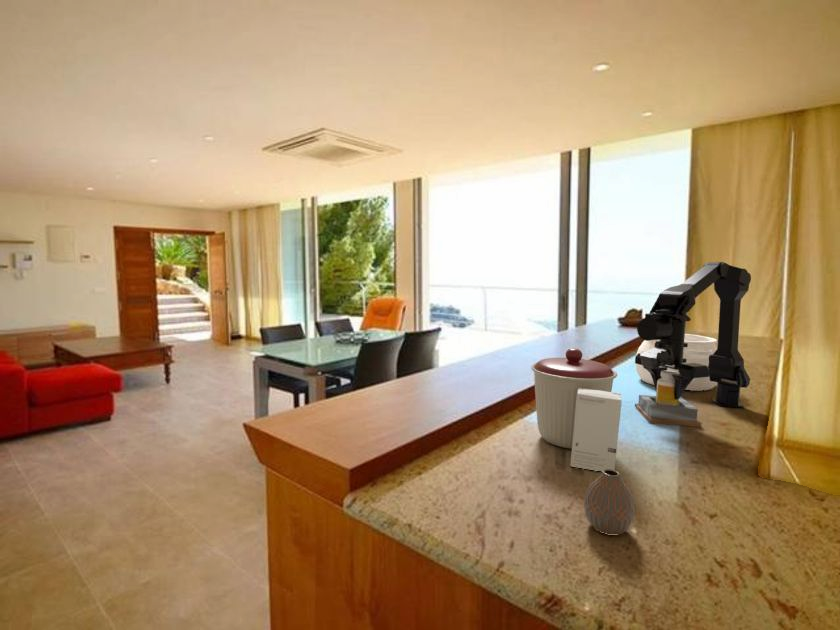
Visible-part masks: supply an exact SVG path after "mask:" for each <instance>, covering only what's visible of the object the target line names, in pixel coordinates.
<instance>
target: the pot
mask: <svg viewBox="0 0 840 630" xmlns="http://www.w3.org/2000/svg"><path fill="white" fill-rule="evenodd" d="M656 341H660V340H649V341H646V340H643V341H642V342H641V344H640V346H639V347H638V349H637V352H636V354H635V356H636V355H637V354H638V353H643V352H645V351H647V350H649V349H653V348H654V347H655V343H656ZM684 343H688V346H687V347H684V350H683V358H685V359H686V363H682V364H687V363H697V364H702V365H706V366H707V367H708V365H709V356H710V355H713V354H714V352H715V351H716V350H717V345H716V343H718V339H716V338H714V337H711V336H710V337H709V336H703V335H699V334H689V333H685V338H684ZM634 364H635V369H636V372H637V375H638V377H639V378H640V380H641V381H643V382H645V383H647V384H649V385H652V386H654V382H653V379H652V376H651V374H650V373H649V372H648V371H647V370H646V369H644V368H643V366H642V365H640V364H636V363H635V362H634ZM673 366H675V365H673ZM667 371H674V372H677V373H678V370H675V369H671V368H667ZM715 387H717V382H714V381H710V378H709V377H702V378H694V379H693V380H692V381H691V382H690V383H689V385H688V386H687V387H686V389H685V390H690V391H689V392H704V391H709V390H712V389H713V388H715ZM703 390H704V391H703Z"/></svg>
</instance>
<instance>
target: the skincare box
mask: <svg viewBox="0 0 840 630" xmlns="http://www.w3.org/2000/svg"><path fill="white" fill-rule="evenodd" d="M621 408H622V394H621V393H619V392H612V391H611V392H606V391H601V390H592V389H584V388H578V392H577V400H576V409H575V421H574V432H573V442H572V449H571V454H570V463H569V464H570V467H571V466H572V467H578V468H584V469H591V470H597V471H603V470H605V469H611V470H615V468H616V459H617V451H618V450H617V449H618V439H619V433H620V432H619V431H620V429H619V428H620V422H621V421H620V420H621V410H622V409H621ZM578 468H577V469H578ZM584 469H583V470H584ZM615 471H616V470H615Z"/></svg>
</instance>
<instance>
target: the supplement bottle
mask: <svg viewBox="0 0 840 630" xmlns="http://www.w3.org/2000/svg"><path fill="white" fill-rule="evenodd" d="M672 374H678V373H677V372H674V371H667V370H663V371H661V378H660V379H658V381H657V391H656V390H655V392H656V393H655V396H656V404H658V405H672V406H678V403H679V399H678V400H675V398H674V388H675V379H674V378H673V376H672Z"/></svg>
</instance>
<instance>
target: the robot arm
mask: <svg viewBox="0 0 840 630" xmlns="http://www.w3.org/2000/svg"><path fill="white" fill-rule="evenodd" d="M751 280H752V275H751V273H750V272H748V270H747V269H746V268H740V267H737V266H734V265H731V264H728V263H726V262H723V261H708V262H704V264H703V266H702V267H701V268H700V269H699V270H698V271H696V272H695V273H693V275H691V276H690V277H689V278H686V280H685V281H683V282H682V283H681V284H678V285H674V286H670V287H668V288H666V289H664V290H661V292H660V293H659V295H658V297H657V298H656V300H655V302H654V304H653V305H652V307H651V309H650V311H649V313H645V314H644V318H642V319H641V320H640V321H639V323H638V325H637V326H636V332H637V334H638V336H639V338H640V339H642V340H643V341H644V340H646V341H649V340H660V341H656V343H655V347H654V348H653V349H649V350H647V351H645V352H643V353H638V354H637V353H636V354H637V355H636V354H635V356H634V360H635V361H634V364H635V363H636V364H640V365H642V366H643V368H644V369H646V370H647V371H648V372H649V373H650V374H651V376H652V379H653V382H654V385H653V386H654V388H655V392H656V391H657V381H658V379H660V378H661V371H663V370H667V368H671V369H675V370H678V374H672V376H673V378H674V379H675V388H674V398H675V400H678V399H679V398H682V395H683V394H684V392H685V391H684V390H685V389H686V387H687V386H688V385H689V383H690V382H691V381H692V380H693V379H694V378H702V377H709V378H710V381H714V382H717V385H716V395H715V398H710V401H711V402H713V404H716V405H718V406H719V407H728V408H729V407H731V408H745V405H743V404H742V403H740V395H741V388H748V387H749V385H750V383H751V378H750V376H749V374H748V372H747V370H746V368H745V360H744V358H743V355H741V353H740V351H739V348H738V347H739V337H740V336H739V334H740V332H739V331H740V322H741V321H740V317H741V302H742V299H743V297H745V296H746V294H747V293H748V291H749V288H750V284H751ZM712 285H713V289H714V292H715V293H716V295H717V297H718V299H719V313H718V315H719V316H718V331H717V332H718V333H717V345H716V347H717V350H716V351H715V352H714V354H713V355H710V356H709V365H708V367H707V366H706V365H702V364H697V363H687V364H682V363H686V359H685V358H683V350H684V347H687V346H688V343H684V338H685V334H686V323H687V322H691V320H692V319H691V317H690V316H689V315H687V313H689V312H690V311H691V310H692V308H693V307H694V306H695V305H696V298H697V297H698V296H699V295H701V294H702V293H703V292H704V291H706V290H707V289H708V288H709V287H710V286H712ZM673 365H675V366H673Z"/></svg>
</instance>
